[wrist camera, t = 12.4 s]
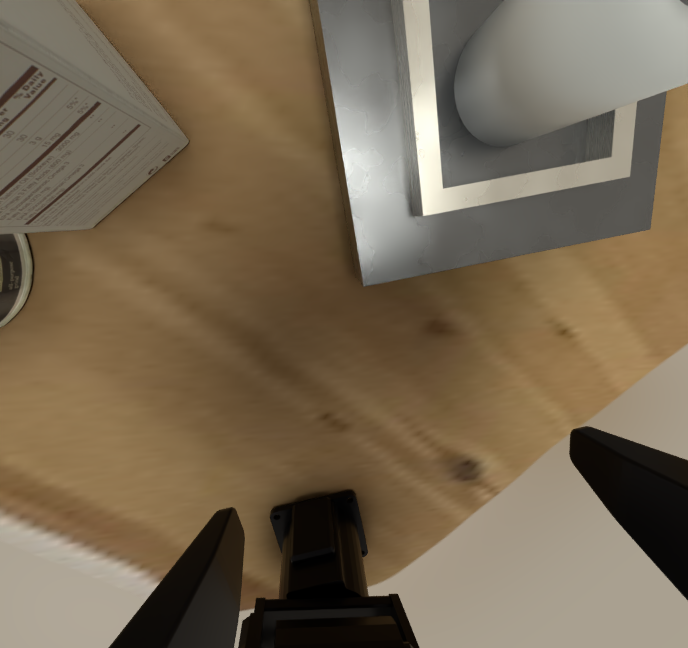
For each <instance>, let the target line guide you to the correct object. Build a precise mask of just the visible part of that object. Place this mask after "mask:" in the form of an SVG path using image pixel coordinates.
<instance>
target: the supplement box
mask: <svg viewBox="0 0 688 648" xmlns="http://www.w3.org/2000/svg"><path fill="white" fill-rule="evenodd" d="M188 143H189V140H188V139H187V137H186V136H185V135H184V133H183V132H182V131H181V130H180V128H179V127H178V126H177V124H176V123H175V122H174V121H173V119H172V118H171V117H170V115H169V114H168V113H167V112H166V110H165V109H164V108H163V107H162V105H161V104H160V103H159V102H158V101H157V99H156V98H155V97H154V96H153V94H152V93H151V92H150V91H149V89H148V88H147V87H146V86H145V85H144V83H143V82H142V81H141V80H140V78H139V77H138V76H137V75H136V74H135V72H134V71H133V70H132V69H131V67H130V66H129V65H128V64H127V63H126V61H125V60H124V59H123V58H122V57H121V55H120V54H119V53H118V52H117V50H116V49H115V48H114V47H113V46H112V44H111V43H110V42H109V41H108V39H107V38H106V37H105V36H104V35H103V33H102V32H101V31H100V30H99V29H98V27H97V26H96V25H95V24H94V22H93V21H92V20H91V19H90V18H89V16H88V15H87V14H86V13H85V12H84V10H83V9H82V8H81V7H80V6H79V4H78V3H77V2H76V1H75V0H0V234H15V233H34V232H53V231H71V230H87V229H92V228H93V227H94V226H95V225H96V224H97V223H98V222H100V221H101V220H102V219H103V218H104V217H106V216H107V215H108V214H109V213H110V212H111V211H112V210H113V209H115V208H116V207H117V206H118V205H119V204H121V203H122V202H123V201H124V200H125V199H126V198H127V197H128V196H129V195H130V194H131V193H133V192H134V191H135V190H136V189H138V188H139V187H140V186H141V185H142V184H143V183H144V182H146V181H147V180H148V179H149V178H150V177H151V176H152V175H153V174H155V173H156V172H157V171H158V170H159V169H160V168H162V167H163V166H164V165H165V164H166V163H167V162H168V161H170V159H171V158H172V157H174V156H175V155H176V154H177V153H178V152H180V151H181V150H182V149H183V148H184V147H185V146H186V145H187V144H188Z"/></svg>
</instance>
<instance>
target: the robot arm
mask: <svg viewBox="0 0 688 648" xmlns="http://www.w3.org/2000/svg"><path fill="white" fill-rule="evenodd" d="M569 452H570V453H569V454H570V458H571V461H572V463H573V464H574V466H575V467H576V468H577V470H578V471H579V472H580V474H581V475H582V476H583V478H584V479H585V480H586V481H587V483H588V484H589V485H590V487H591V488H592V489H593V491H594V492H595V493H596V495H597V496H598V497H599V499H600V500H601V501H602V502H603V504H604V505H605V507H606V508H607V509H608V510H609V512H610V513H611V514H612V516H613V517H614V518H615V519H616V520H617V522H618V523H619V524H620V525H621V526H622V527H623V529H624V530H625V531H626V532H627V533H628V534H629V535H630V536H631V537H632V539H633V540H634V541H635V542H636V543H637V544H638V545H639V547H641V549H642V550H643V551H644V552H645V553H646V554H647V556H648V557H649V558H650V559H651V560H652V561H653V562H654V563H655V564H656V566H657V567H658V568H659V569H660V570H661V571H662V572H663V573H664V574H665V576H666V577H667V578H668V579H669V580H670V581H671V582H672V583H673V585H674V586H675V587H676V588H677V589H678V590H679V591H680V592H681V594H682V595H683V596H684V597H685V598H686V599H687V600H688V460H685V459H682V458H679V457H677V456H674V455H671V454H668V453H665V452H662V451H659V450H656V449H653V448H650V447H647V446H645V445H642V444H639V443H636V442H633V441H630V440H627V439H624V438H621V437H618V436H615V435H612V434H609V433H607V432H604V431H601V430H598V429H595V428H592V427H588V426H585V427H581V428H576V429H573V430H572V431H571V434H570V451H569ZM348 498H350V499H348ZM270 520H271V523H272V526H273V529H274V532H275V535H276V538H277V541H278V544H279V547H280V550H281V553H282V563H281V576H280V590H279V599H266V600H265V598H256V604H255V610H254V613H251V614H250V616H249V617H247V618H246V619H245V620H243V622H242V628H241V634H240V641H239V647H238V648H419V646H418V643H417V641H416V638H415V636H414V633H413V631H412V628H411V626H410V623H409V621H408V618H407V616H406V613H405V611H404V608H403V606H402V603H401V601H400V598H399V596H398V594H389V596H369V595H368V589H367V583H366V577H365V571H364V565H363V559H362V557H365V556H366V555H367V554H368V550H367V545H366V540H365V535H364V531H363V526H362V521H361V517H360V512H359V507H358V503H357V498H356V494H355V492H353V491H346V492H342V493H337V494H333V495H329V496H324V497H320V498H316V499H311V500H307V501H303V502H298V503H294V504H289V505H285V506H281V507H276V508H274V509H272V510H271V513H270ZM244 541H245V537H244V530H243V527H242V525H241V522H240V519H239V517H238V514H237V511H236V509H235V508H233V507H230V508H226V509H222V510H219V511H217V512H216V513H215V514H214V515H213V517H212V518H211V519H210V520H209V522H208V523H207V524H206V525H205V527H204V528H203V529H202V530H201V532H200V533H199V534H198V536H197V537H196V538H195V539H194V541H193V542H192V543H191V544H190V546H189V547H188V548H187V549H186V551H185V552H184V553H183V554H182V556H181V557H180V558H179V560H178V561H177V562H176V563H175V565H174V566H173V567H172V568H171V570H170V571H169V572H168V573H167V575H166V576H165V577H164V578H163V580H162V581H161V582H160V584H159V585H158V586H157V587H156V589H155V590H154V591H153V592H152V594H151V595H150V596H149V597H148V599H147V600H146V601H145V603H144V604H143V605H142V606H141V608H140V609H139V610H138V611H137V613H136V614H135V615H134V616H133V618H132V619H131V620H130V621H129V623H128V624H127V625H126V627H125V628H124V629H123V630H122V632H121V633H120V634H119V635H118V637H117V638H116V639H115V640H114V642H113V643H112V644H111V645H110V647H109V648H234V643H235V637H236V631H237V625H238V617H239V611H240V599H241V585H242V570H243V556H244Z"/></svg>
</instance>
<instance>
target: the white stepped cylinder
mask: <svg viewBox="0 0 688 648" xmlns="http://www.w3.org/2000/svg"><path fill="white" fill-rule="evenodd" d="M687 83H688V0H504V1H503V2H502V3H501V4H500V5H499V6H498V7H497V8H496V9H495V11H494V12H493V13H492V14H491V15H490V16H489V17H488V18H487V19H486V21H485V22H484V23H483V24H482V25H481V26H480V27H479V28H478V29H477V31H476V32H475V33H474V34H473V35H472V37H471V38H470V39H469V41H468V42H467V44H466V46H465V47H464V49H463V51H462V54H461V56H460V58H459V62H458V65H457V69H456V74H455V82H454V94H455V102H456V106H457V110H458V113H459V116H460V118H461V120H462V122H463V124H464V125H465V127H466V128H467V129H468V131H469V132H470V133H471V134H472V135H473V136H474V137H476V138H477V139H478V140H480V141H482V142H483V143H486V144H489V145H492V146H497V147H506V146H512V145H516V144H519V143H522V142H525V141H527V140H530V139H533V138H536V137H539V136H541V135H544V134H547V133H550V132H553V131H555V130H558V129H561V128H564V127H567V126H569V125H572V124H575V123H578V122H581V121H583V120H586V119H589V118H592V117H595V116H597V115H600V114H603V113H606V112H609V111H612V110H614V109H617V108H620V107H623V106H626V105H628V104H631V103H634V102H637V101H640V100H642V99H645V98H648V97H651V96H654V95H656V94H659V93H662V92H665V91H668V90H670V89H673V88H676V87H679V86H682V85H684V84H687Z"/></svg>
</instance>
